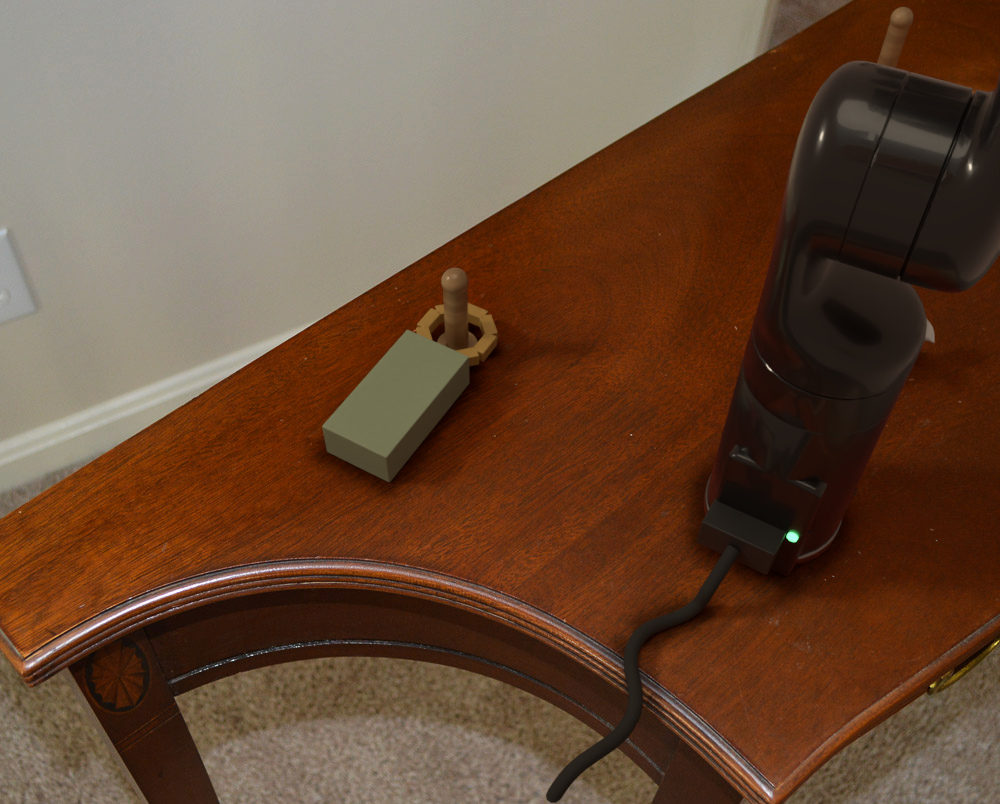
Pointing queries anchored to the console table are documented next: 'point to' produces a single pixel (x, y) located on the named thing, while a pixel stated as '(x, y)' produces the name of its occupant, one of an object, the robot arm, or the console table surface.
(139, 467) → the console table surface
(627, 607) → the console table surface
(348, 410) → the grey-green bar
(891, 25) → the right peg
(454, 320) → the left peg
